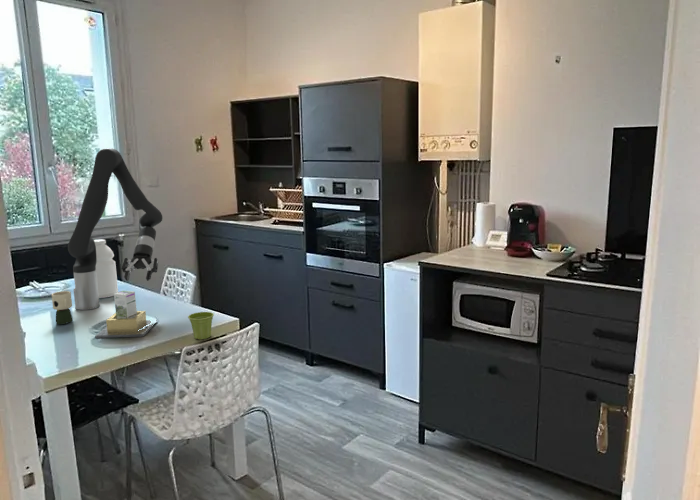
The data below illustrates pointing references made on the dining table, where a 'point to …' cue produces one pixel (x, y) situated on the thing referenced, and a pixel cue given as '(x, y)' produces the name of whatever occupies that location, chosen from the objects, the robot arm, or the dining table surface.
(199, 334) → the plant pot
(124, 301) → the syrup box
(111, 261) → the bottle
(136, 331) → the hitch plate
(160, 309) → the dining table surface
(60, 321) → the character mug
